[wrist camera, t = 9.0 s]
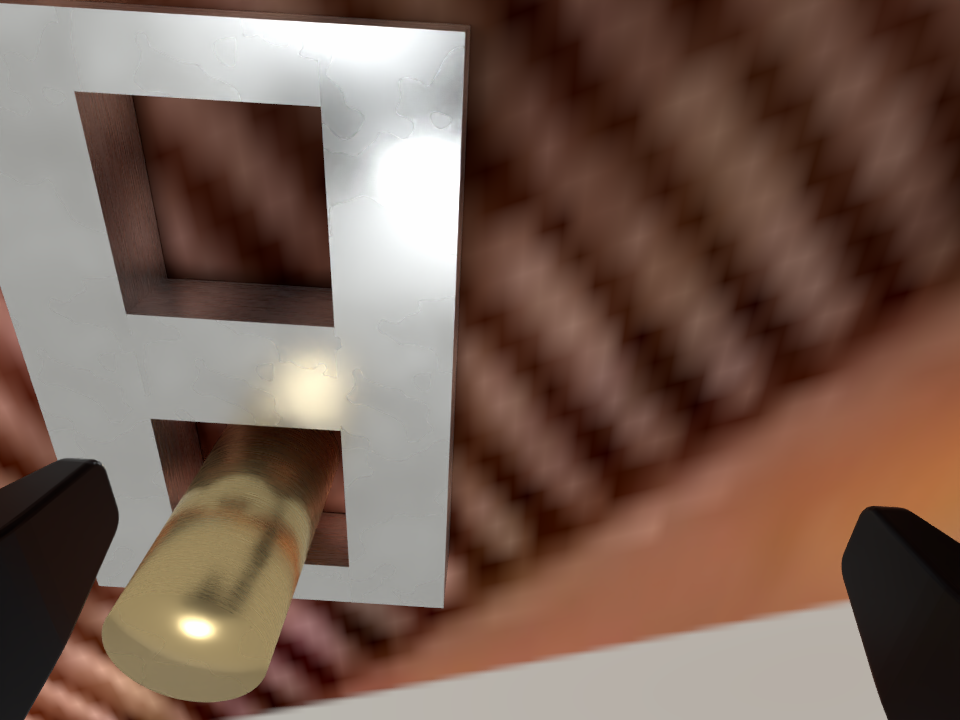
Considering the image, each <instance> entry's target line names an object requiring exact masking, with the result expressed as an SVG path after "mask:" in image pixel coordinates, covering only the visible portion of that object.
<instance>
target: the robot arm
mask: <svg viewBox="0 0 960 720" xmlns="http://www.w3.org/2000/svg"><path fill="white" fill-rule="evenodd" d="M118 524H119V511H118V507H117V504H116V500H115V497H114V494H113V491H112V487H111V484H110V481H109V478H108V475H107V471H106V469H105V466H104V465H103V464H102V463H101V462H100V461H97V460H95V459H82V458H63V459H60V460H58V461H56V462H53V463H51V464H49V465H47V466H45V467H43V468H41V469H39V470H37V471H35V472H33V473H31V474H29V475H27V476H25V477H23V478H21V479H19V480H17V481H15V482H13V483H11V484H9V485H7V486H5V487H3V488H1V489H0V720H24V719H25V717H26V716H27V714H28V712H29V710H30V709H31V707H32V705H33V703H34V702H35V700H36V698H37V696H38V694H39V693H40V691H41V689H42V687H43V686H44V684H45V682H46V680H47V679H48V677H49V675H50V673H51V672H52V670H53V668H54V666H55V664H56V662H57V661H58V659H59V657H60V655H61V653H62V651H63V649H64V647H65V645H66V643H67V641H68V639H69V637H70V635H71V633H72V631H73V629H74V626H75V624H76V622H77V620H78V617H79V615H80V613H81V611H82V608H83V606H84V604H85V602H86V599H87V597H88V595H89V593H90V590H91V588H92V586H93V583H94V581H95V579H96V577H97V574H98V572H99V570H100V568H101V565H102V563H103V561H104V559H105V556H106V554H107V552H108V550H109V547H110V545H111V543H112V540H113V538H114V536H115V534H116V531H117V528H118ZM842 575H843V579H844V583H845V586H846V589H847V593H848V596H849V599H850V603H851V606H852V609H853V612H854V616H855V619H856V623H857V626H858V629H859V632H860V636H861V639H862V642H863V646H864V649H865V652H866V656H867V659H868V662H869V666H870V669H871V672H872V676H873V679H874V682H875V685H876V688H877V691H878V694H879V697H880V700H881V703H882V705H883V708H884V711H885V713H886V716H887V719H888V720H960V543H958V542H957V541H955V540H954V539H952V538H951V537H949V536H948V535H946V534H945V533H943V532H942V531H940V530H938V529H937V528H935V527H934V526H932V525H931V524H929V523H928V522H926V521H925V520H923V519H922V518H920V517H919V516H917V515H915V514H914V513H912V512H911V511H909V510H907V509H904V508H899V507H883V506H871V507H867V508H866V509H865V510H863V511H862V513H861V514H860V516H859V519H858V521H857V523H856V526H855V528H854V530H853V533H852V535H851V537H850V540H849V542H848V544H847V547H846V549H845V552H844V554H843V558H842Z"/></svg>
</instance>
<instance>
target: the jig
mask: <svg viewBox="0 0 960 720" xmlns="http://www.w3.org/2000/svg"><path fill="white" fill-rule="evenodd" d="M470 33H471V25H463V24H446V23H430V22H414V21H398V20H382V19H366V18H349V17H333V16H317V15H301V14H285V13H268V12H252V11H236V10H220V9H204V8H187V7H171V6H155V5H139V4H123V3H106V2H90V1H74V0H0V286H1V289H2V292H3V295H4V298H5V302H6V305H7V308H8V311H9V314H10V317H11V320H12V323H13V326H14V329H15V332H16V335H17V338H18V341H19V344H20V347H21V350H22V353H23V356H24V359H25V362H26V365H27V368H28V371H29V374H30V378H31V381H32V384H33V387H34V390H35V393H36V396H37V399H38V402H39V405H40V408H41V411H42V414H43V417H44V420H45V423H46V426H47V429H48V432H49V435H50V438H51V441H52V444H53V447H54V450H55V454H56V457H57V460H60V459H63V458H82V459H95V460H97V461H100V462H101V463H102V464H103V465H104V466H105V469H106V471H107V475H108V478H109V481H110V484H111V487H112V491H113V494H114V497H115V500H116V504H117V507H118V511H119V524H118V528H117V531H116V534H115V536H114V538H113V540H112V543H111V545H110V547H109V550H108V552H107V554H106V556H105V559H104V561H103V563H102V565H101V568H100V570H99V572H98V574H97V577H96V578H97V581H98V584H99V586H112V587H126V586H127V584H128V583H129V581H130V579H131V578H132V576H133V575H134V573H135V571H136V570H137V568H138V567H139V565H140V563H141V562H142V560H143V559H144V557H145V555H146V554H147V552H148V551H149V549H150V548H151V546H152V544H153V543H154V541H155V540H156V538H157V536H158V535H159V533H160V532H161V530H162V528H163V527H164V525H165V524H166V522H167V520H168V519H169V517H170V516H171V514H172V512H173V511H174V509H175V508H176V506H177V504H178V503H179V501H180V500H181V498H182V497H183V495H184V493H185V492H186V490H187V489H188V487H189V485H190V484H191V482H192V481H193V479H194V477H195V476H196V474H197V473H198V471H199V469H200V468H201V466H202V465H203V460H202V455H201V450H200V445H199V440H198V434H197V429H196V424H195V422H210V423H226V424H241V425H257V426H272V427H288V428H304V429H319V430H335V431H341V442H342V458H343V474H344V490H345V507H346V514H338V513H323V512H322V514H321V517H320V520H319V522H318V525H317V528H316V531H315V534H314V537H313V540H312V543H311V546H310V548H309V551H308V554H307V557H306V560H305V563H304V566H303V569H302V571H301V574H300V577H299V580H298V583H297V586H296V589H295V592H294V595H293V597H292V598H297V599H312V600H327V601H343V602H358V603H373V604H389V605H404V606H419V607H435V608H443V607H444V597H445V587H446V577H447V567H448V557H449V537H450V513H451V489H452V465H453V441H454V417H455V393H456V369H457V345H458V321H459V297H460V273H461V249H462V225H463V201H464V177H465V153H466V129H467V105H468V81H469V57H470ZM132 95H141V96H157V97H173V98H189V99H206V100H222V101H238V102H254V103H270V104H286V105H302V106H318V107H321V117H322V133H323V149H324V166H325V182H326V198H327V214H328V231H329V247H330V263H331V279H332V288H317V287H301V286H285V285H270V284H254V283H238V282H222V281H206V280H191V279H175V278H167V274H166V269H165V264H164V258H163V253H162V248H161V243H160V238H159V232H158V227H157V222H156V217H155V212H154V207H153V201H152V196H151V191H150V186H149V181H148V176H147V170H146V165H145V160H144V155H143V150H142V144H141V139H140V134H139V129H138V124H137V119H136V113H135V108H134V103H133V98H132Z"/></svg>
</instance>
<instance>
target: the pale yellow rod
mask: <svg viewBox="0 0 960 720" xmlns="http://www.w3.org/2000/svg"><path fill="white" fill-rule="evenodd" d="M338 464H339V448H338V444H337V441H336V439H335V437H334V435H333V434H332V432H331V431H330V430H319V429H304V428H288V427H272V426H257V425H241V424H228V425H227V426H226V428H225V430H224V431H223V433H222V434H221V436H220V438H219V439H218V441H217V442H216V444H215V446H214V447H213V449H212V450H211V452H210V453H209V455H208V457H207V458H206V460H205V461H204V463H203V465H202V466H201V468H200V469H199V471H198V473H197V474H196V476H195V477H194V479H193V481H192V482H191V484H190V485H189V487H188V489H187V490H186V492H185V493H184V495H183V497H182V498H181V500H180V501H179V503H178V504H177V506H176V508H175V509H174V511H173V512H172V514H171V516H170V517H169V519H168V520H167V522H166V524H165V525H164V527H163V528H162V530H161V532H160V533H159V535H158V536H157V538H156V540H155V541H154V543H153V544H152V546H151V548H150V549H149V551H148V552H147V554H146V555H145V557H144V559H143V560H142V562H141V563H140V565H139V567H138V568H137V570H136V571H135V573H134V575H133V576H132V578H131V579H130V581H129V583H128V584H127V586H126V587H125V589H124V591H123V592H122V594H121V595H120V597H119V599H118V600H117V602H116V603H115V605H114V606H113V608H112V610H111V611H110V613H109V614H108V616H107V618H106V619H105V622H104V624H103V628H102V641H103V645H104V648H105V650H106V652H107V654H108V656H109V657H110V659H111V660H112V661H113V663H114V664H115V665H116V666H117V667H118V668H119V669H120V670H121V671H122V672H123V673H124V674H125V675H127V676H128V677H129V678H131V679H132V680H134V681H135V682H137V683H138V684H140V685H142V686H144V687H146V688H148V689H150V690H152V691H155V692H157V693H160V694H163V695H165V696H169V697H172V698H176V699H181V700H186V701H194V702H219V701H226V700H230V699H234V698H237V697H240V696H243V695H245V694H247V693H249V692H250V691H252V690H253V689H255V688H256V687H257V686H258V685H259V684H260V683H261V682H262V680H263V679H264V677H265V675H266V672H267V670H268V667H269V664H270V661H271V658H272V655H273V652H274V649H275V646H276V644H277V641H278V638H279V635H280V632H281V629H282V626H283V623H284V621H285V618H286V615H287V612H288V609H289V606H290V603H291V600H292V597H293V595H294V592H295V589H296V586H297V583H298V580H299V577H300V574H301V571H302V569H303V566H304V563H305V560H306V557H307V554H308V551H309V548H310V546H311V543H312V540H313V537H314V534H315V531H316V528H317V525H318V522H319V520H320V517H321V514H322V511H323V508H324V505H325V502H326V499H327V496H328V494H329V491H330V488H331V485H332V482H333V479H334V476H335V473H336V471H337V468H338Z"/></svg>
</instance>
